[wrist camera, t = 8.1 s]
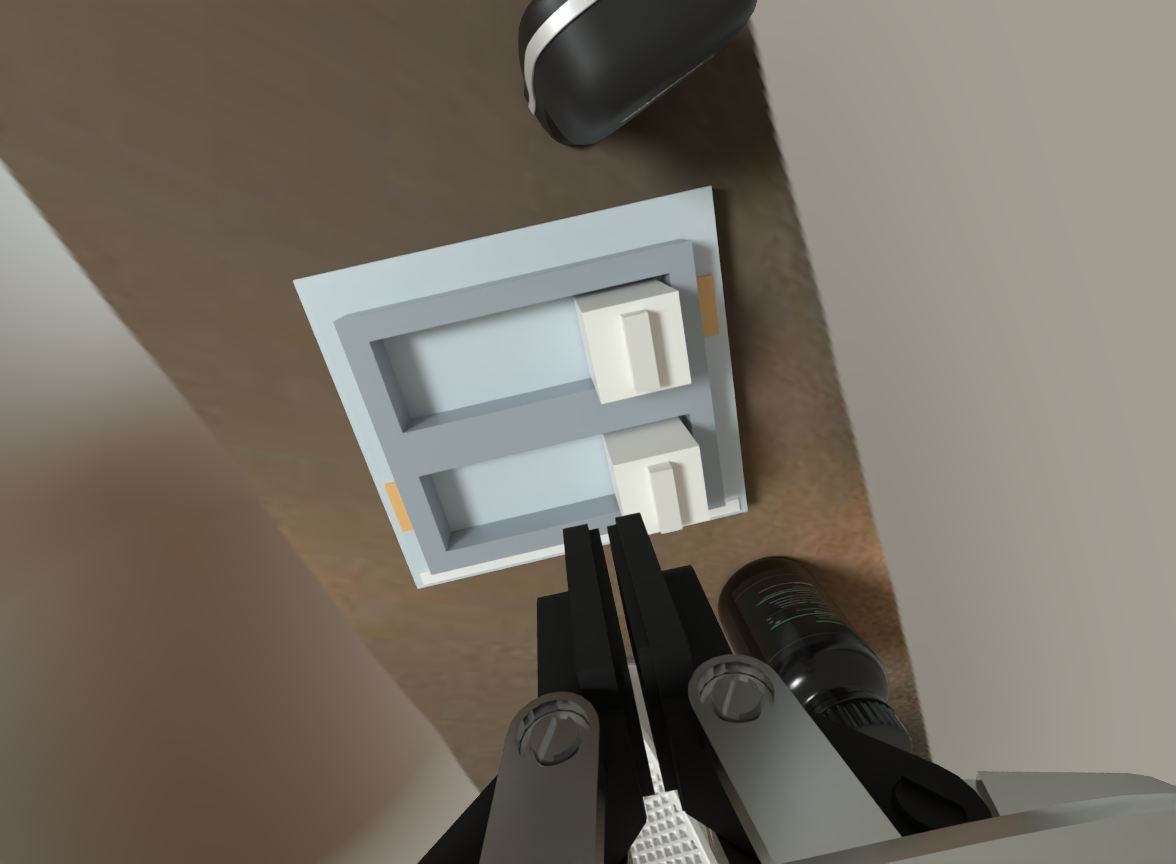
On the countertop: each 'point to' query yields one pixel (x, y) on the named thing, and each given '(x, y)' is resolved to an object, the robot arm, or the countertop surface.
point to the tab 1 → (633, 339)
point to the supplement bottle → (809, 646)
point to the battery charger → (615, 57)
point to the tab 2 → (658, 474)
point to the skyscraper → (665, 811)
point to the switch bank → (519, 379)
